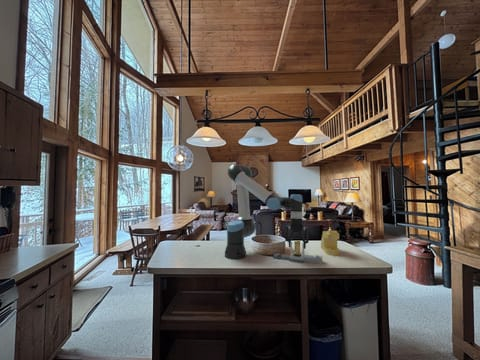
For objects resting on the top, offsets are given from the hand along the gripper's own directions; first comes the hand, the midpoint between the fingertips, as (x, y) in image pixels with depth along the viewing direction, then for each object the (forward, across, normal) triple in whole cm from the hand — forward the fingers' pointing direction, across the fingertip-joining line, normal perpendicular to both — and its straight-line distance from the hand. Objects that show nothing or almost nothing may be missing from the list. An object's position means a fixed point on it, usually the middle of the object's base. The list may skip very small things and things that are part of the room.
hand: (297, 253), depth 142 cm
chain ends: (+4, 0, 0) cm, 4 cm away
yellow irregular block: (+5, +20, +28) cm, 35 cm away
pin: (+4, 0, 0) cm, 4 cm away
